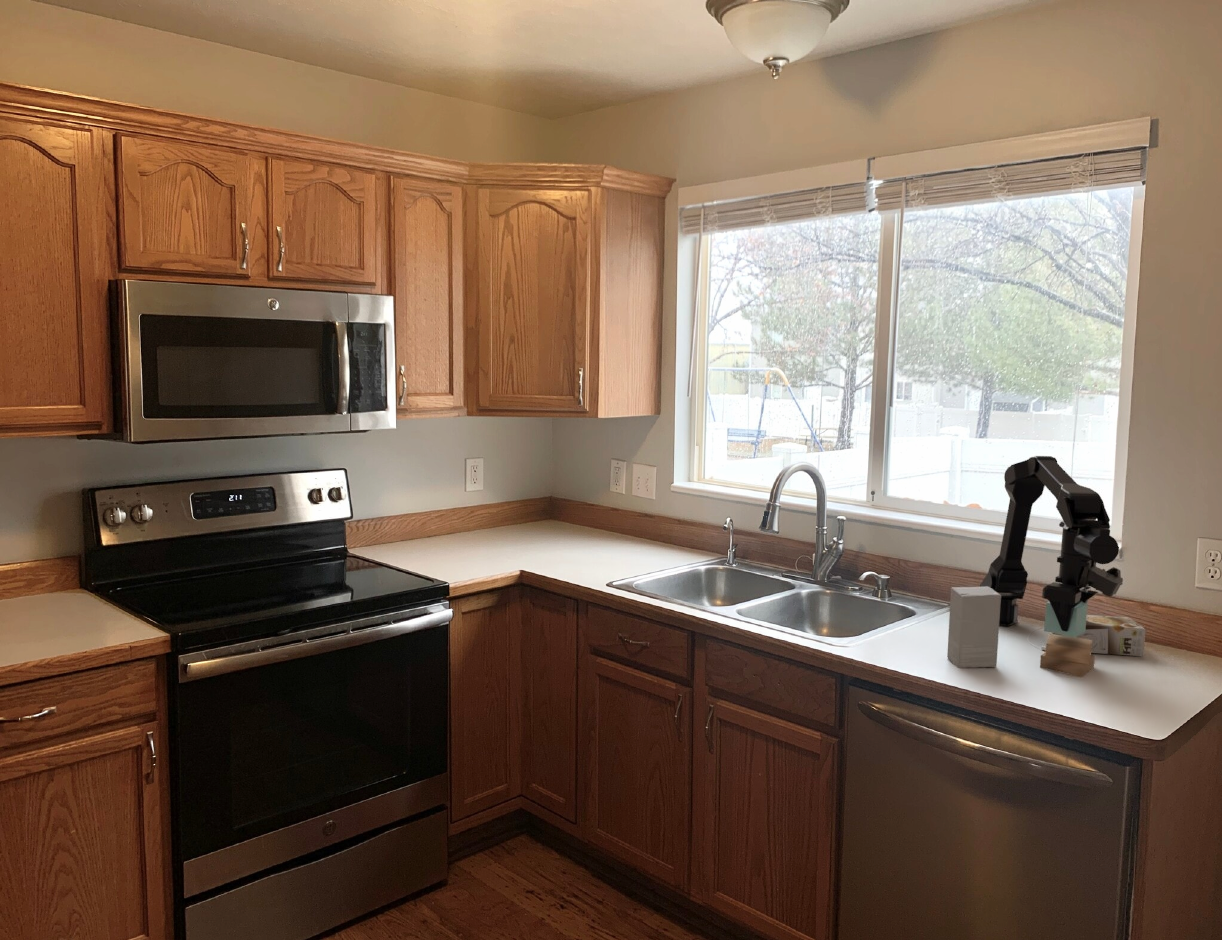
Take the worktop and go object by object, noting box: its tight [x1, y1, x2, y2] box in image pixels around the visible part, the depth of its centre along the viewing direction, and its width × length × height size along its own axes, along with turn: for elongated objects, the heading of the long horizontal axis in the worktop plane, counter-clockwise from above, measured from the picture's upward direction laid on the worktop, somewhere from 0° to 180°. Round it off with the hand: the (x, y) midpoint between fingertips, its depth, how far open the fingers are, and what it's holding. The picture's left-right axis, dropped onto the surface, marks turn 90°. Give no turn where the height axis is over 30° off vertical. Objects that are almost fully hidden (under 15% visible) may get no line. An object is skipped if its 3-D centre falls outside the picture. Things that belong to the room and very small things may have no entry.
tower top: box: [1044, 633, 1092, 665], centre depth 193 cm, size 8×8×3 cm
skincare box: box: [946, 586, 1001, 669], centre depth 194 cm, size 8×7×16 cm
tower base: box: [1039, 651, 1096, 678], centre depth 194 cm, size 8×8×3 cm
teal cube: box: [1043, 601, 1089, 638], centre depth 193 cm, size 6×6×6 cm
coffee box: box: [1052, 614, 1146, 657], centre depth 207 cm, size 9×6×16 cm
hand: (1070, 627), depth 192 cm, fingers closed on teal cube, 6 cm apart
